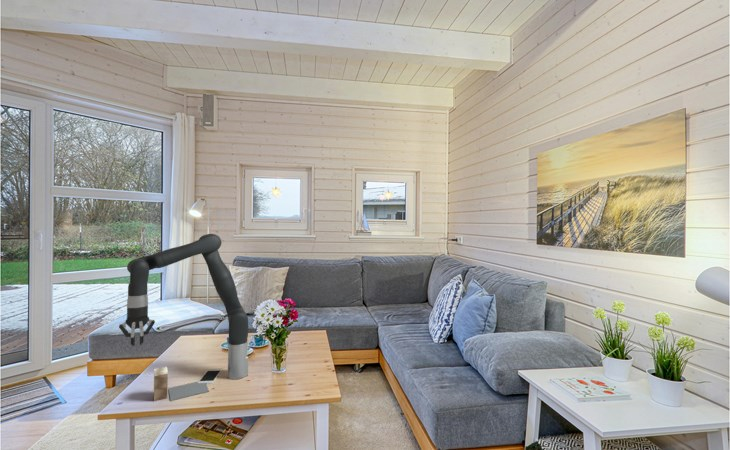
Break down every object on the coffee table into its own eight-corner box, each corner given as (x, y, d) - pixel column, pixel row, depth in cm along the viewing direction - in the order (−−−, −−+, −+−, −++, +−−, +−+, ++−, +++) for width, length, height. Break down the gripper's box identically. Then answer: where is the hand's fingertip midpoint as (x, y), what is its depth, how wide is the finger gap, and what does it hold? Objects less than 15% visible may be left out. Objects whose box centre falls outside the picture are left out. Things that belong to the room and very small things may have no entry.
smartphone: (197, 384, 163) (197, 382, 163) (208, 371, 178) (208, 369, 178) (212, 384, 163) (212, 382, 163) (222, 370, 179) (222, 369, 179)
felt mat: (204, 380, 166) (204, 379, 166) (208, 391, 155) (208, 390, 155) (168, 388, 158) (168, 387, 158) (170, 401, 147) (170, 400, 147)
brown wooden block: (166, 392, 154) (166, 366, 154) (167, 398, 149) (167, 371, 149) (153, 395, 151) (154, 369, 151) (154, 401, 146) (154, 374, 146)
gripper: (156, 301, 152) (155, 339, 152) (118, 305, 145) (118, 345, 145) (156, 305, 146) (156, 344, 146) (117, 309, 139) (116, 350, 139)
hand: (137, 344), depth 145 cm, fingers closed
